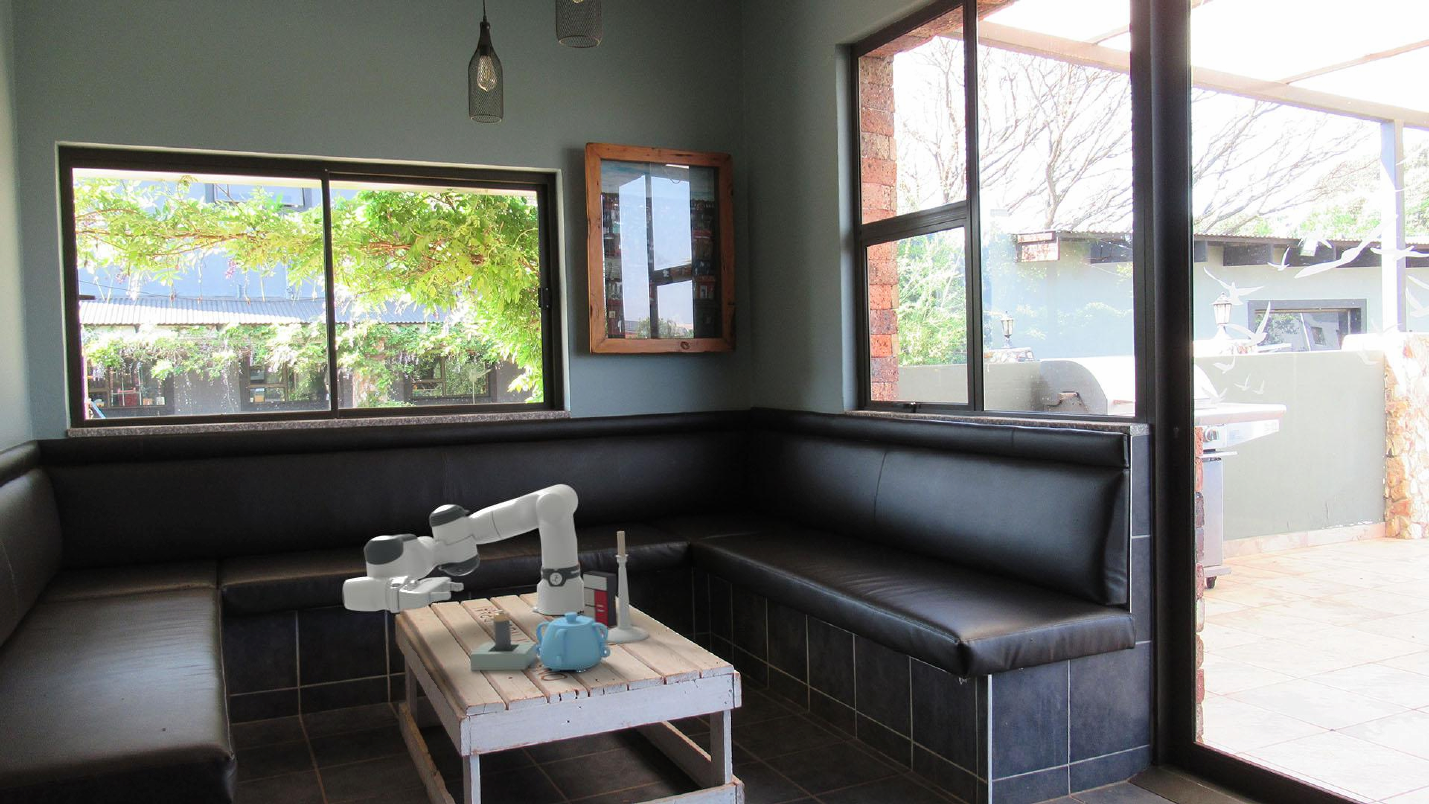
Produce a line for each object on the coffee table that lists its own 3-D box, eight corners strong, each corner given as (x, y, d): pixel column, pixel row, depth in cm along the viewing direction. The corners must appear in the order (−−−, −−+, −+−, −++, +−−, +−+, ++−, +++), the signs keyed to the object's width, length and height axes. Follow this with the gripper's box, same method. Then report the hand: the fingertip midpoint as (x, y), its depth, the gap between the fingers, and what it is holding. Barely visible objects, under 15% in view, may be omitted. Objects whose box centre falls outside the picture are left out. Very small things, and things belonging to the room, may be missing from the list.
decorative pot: (594, 654, 262) (592, 602, 262) (614, 669, 247) (612, 614, 247) (533, 664, 255) (531, 611, 255) (550, 680, 240) (548, 624, 240)
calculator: (583, 623, 296) (580, 572, 295) (594, 620, 299) (592, 570, 298) (607, 628, 288) (605, 576, 288) (618, 625, 291) (616, 574, 291)
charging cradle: (484, 657, 262) (484, 642, 262) (537, 657, 261) (536, 641, 261) (470, 670, 251) (470, 654, 251) (525, 669, 250) (524, 653, 250)
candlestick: (647, 642, 272) (643, 532, 271) (600, 644, 271) (596, 534, 270) (648, 630, 284) (644, 525, 283) (603, 632, 284) (598, 527, 283)
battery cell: (499, 658, 258) (495, 609, 258) (514, 657, 258) (510, 608, 258) (494, 662, 254) (490, 612, 254) (509, 662, 254) (505, 612, 254)
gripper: (419, 595, 268) (470, 594, 267) (388, 614, 247) (443, 613, 246) (418, 572, 268) (468, 570, 266) (387, 589, 247) (441, 587, 246)
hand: (456, 591), depth 256 cm, fingers open, 8 cm apart
